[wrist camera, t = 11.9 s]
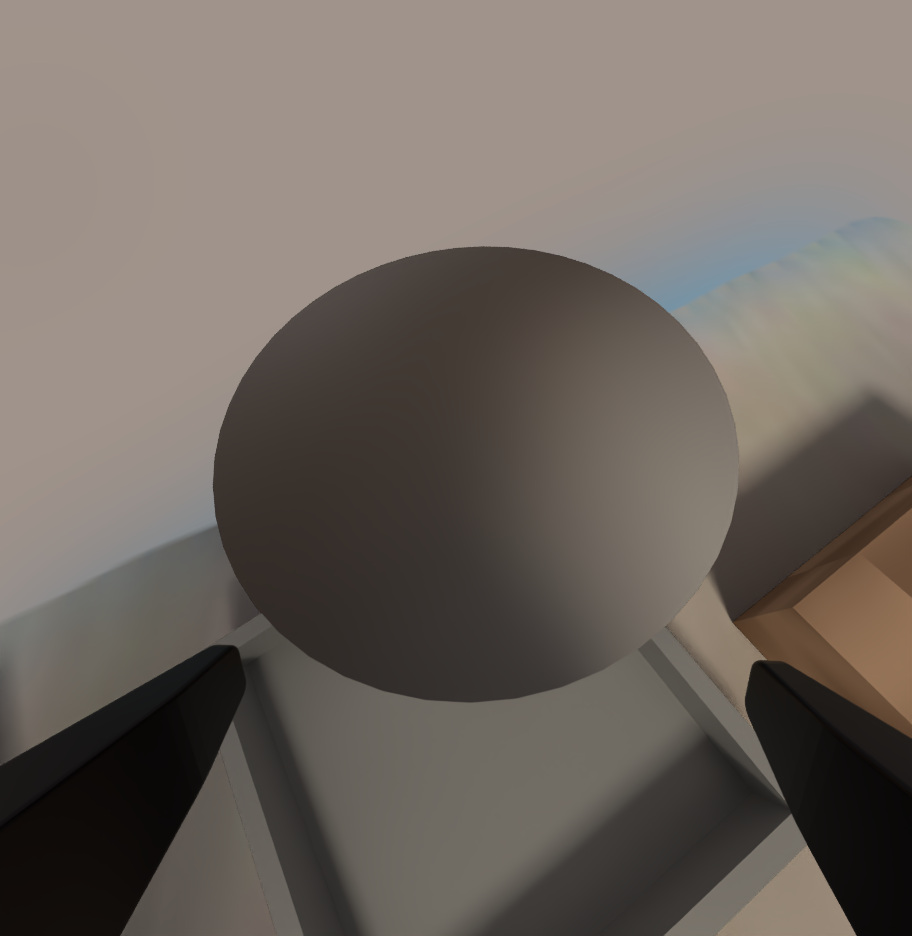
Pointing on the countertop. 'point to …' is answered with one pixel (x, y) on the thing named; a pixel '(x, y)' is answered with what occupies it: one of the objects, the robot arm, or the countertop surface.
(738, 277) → the countertop surface
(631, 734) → the tray
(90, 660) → the countertop surface
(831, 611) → the socket block
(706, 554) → the pin
